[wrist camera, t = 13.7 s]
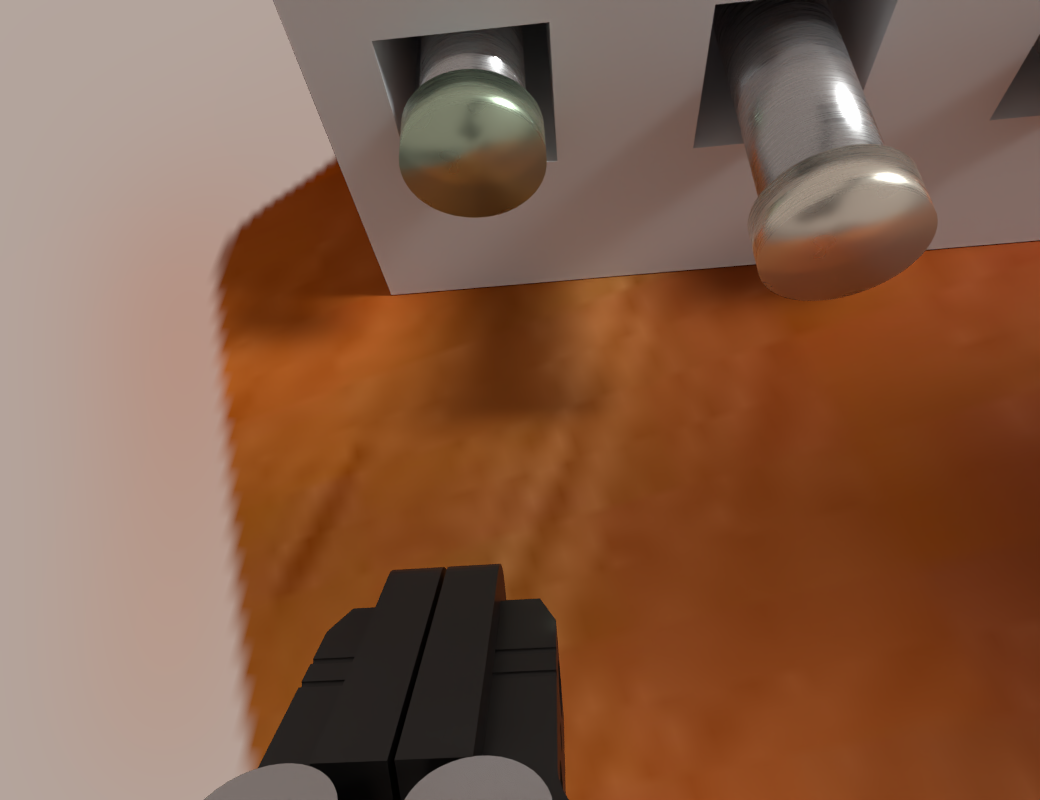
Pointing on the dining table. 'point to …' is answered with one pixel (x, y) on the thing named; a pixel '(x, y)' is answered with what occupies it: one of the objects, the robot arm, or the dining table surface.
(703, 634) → the dining table surface
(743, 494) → the dining table surface
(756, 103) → the ivory button
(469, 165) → the sage button
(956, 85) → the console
